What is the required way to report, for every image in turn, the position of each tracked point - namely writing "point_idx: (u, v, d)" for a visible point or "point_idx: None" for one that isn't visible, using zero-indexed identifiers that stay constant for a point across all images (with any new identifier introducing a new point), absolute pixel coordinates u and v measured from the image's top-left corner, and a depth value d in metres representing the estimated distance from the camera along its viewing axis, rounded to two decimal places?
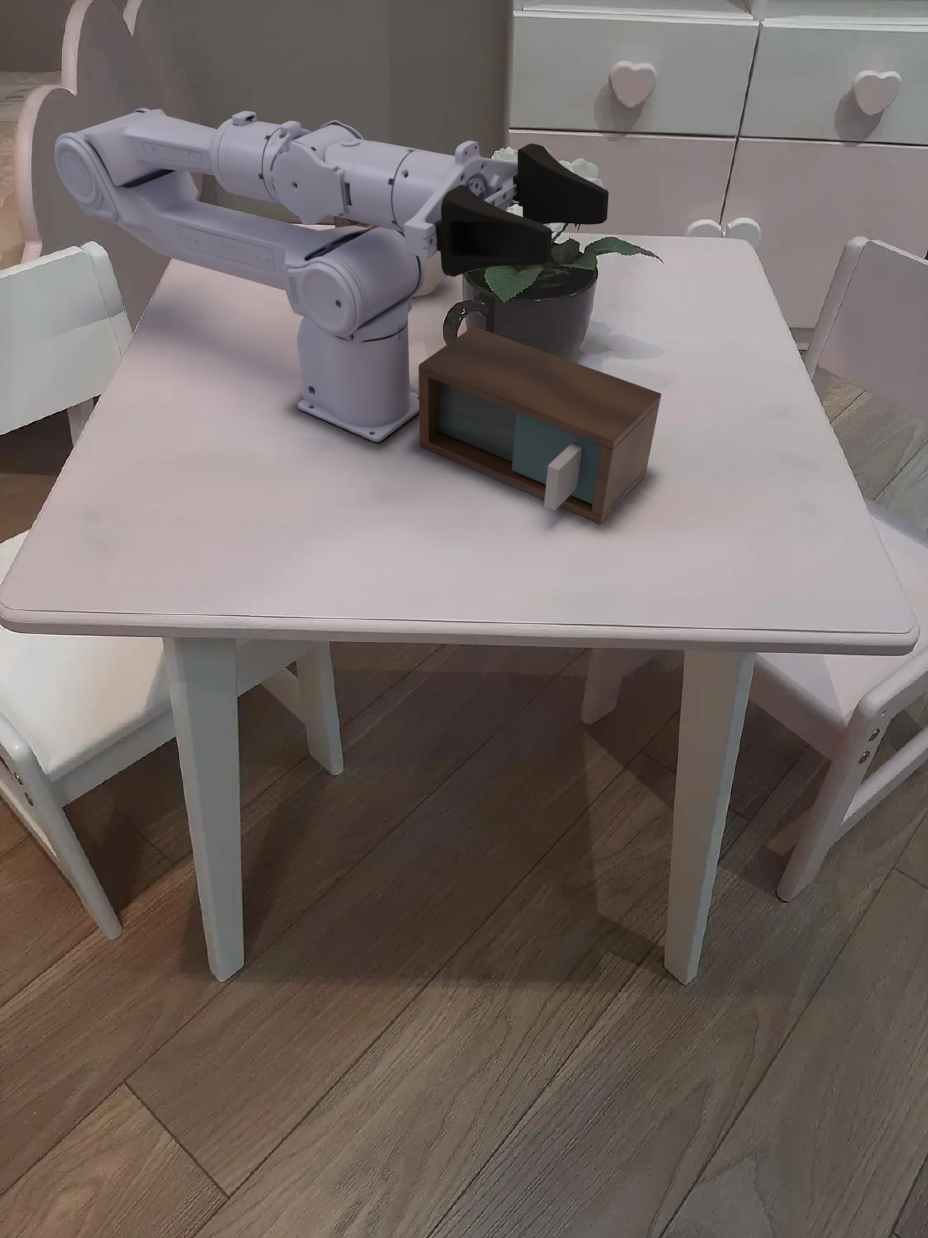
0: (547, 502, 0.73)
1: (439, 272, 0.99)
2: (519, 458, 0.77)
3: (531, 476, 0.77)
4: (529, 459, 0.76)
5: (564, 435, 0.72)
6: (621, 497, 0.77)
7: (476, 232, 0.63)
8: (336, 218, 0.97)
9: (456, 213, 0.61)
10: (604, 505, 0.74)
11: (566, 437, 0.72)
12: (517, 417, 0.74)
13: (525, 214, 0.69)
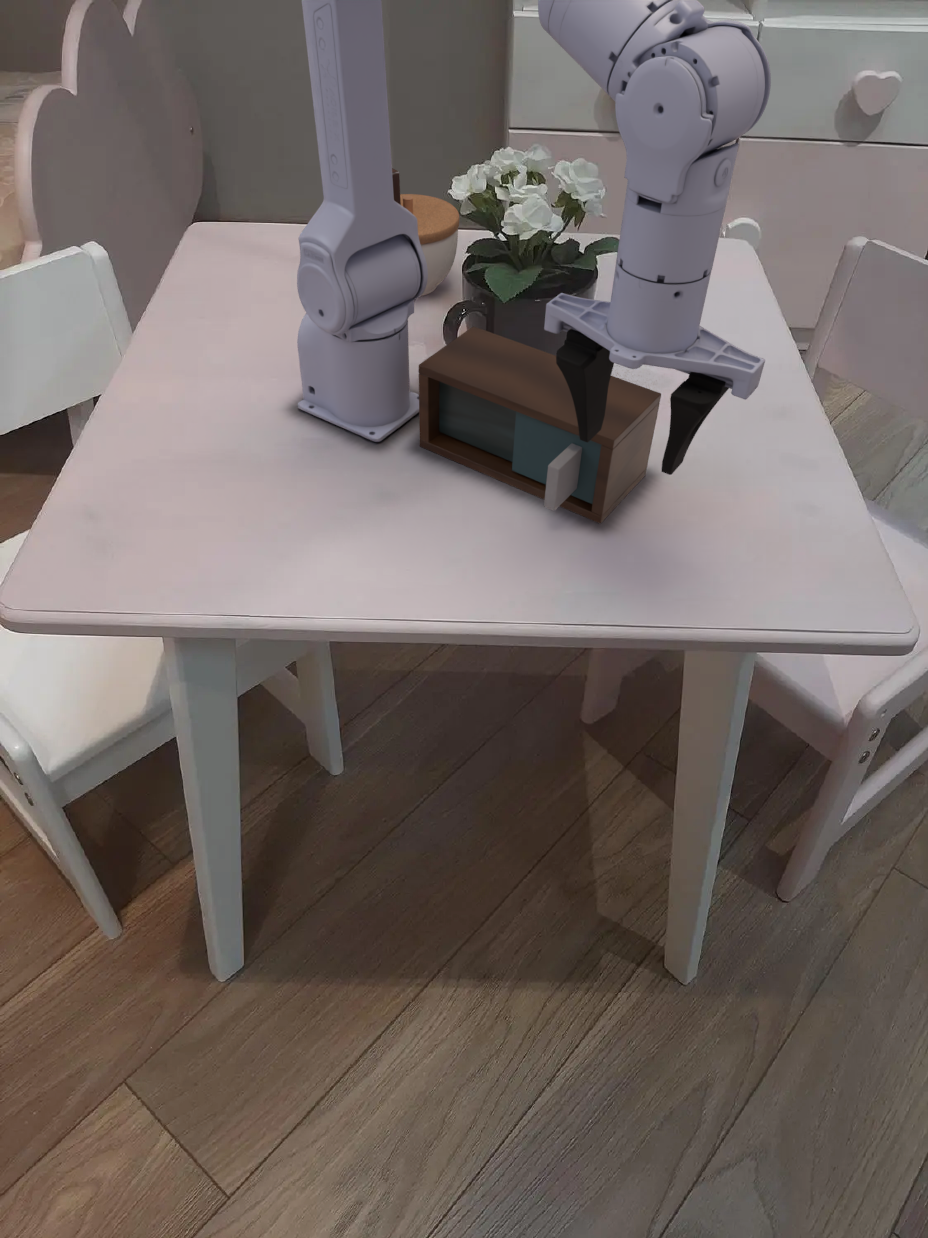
0: (547, 502, 0.73)
1: (439, 272, 0.99)
2: (519, 458, 0.77)
3: (531, 476, 0.77)
4: (529, 459, 0.76)
5: (564, 435, 0.72)
6: (621, 497, 0.77)
7: None
8: None
9: None
10: (604, 505, 0.74)
11: (566, 437, 0.72)
12: (517, 417, 0.74)
13: None
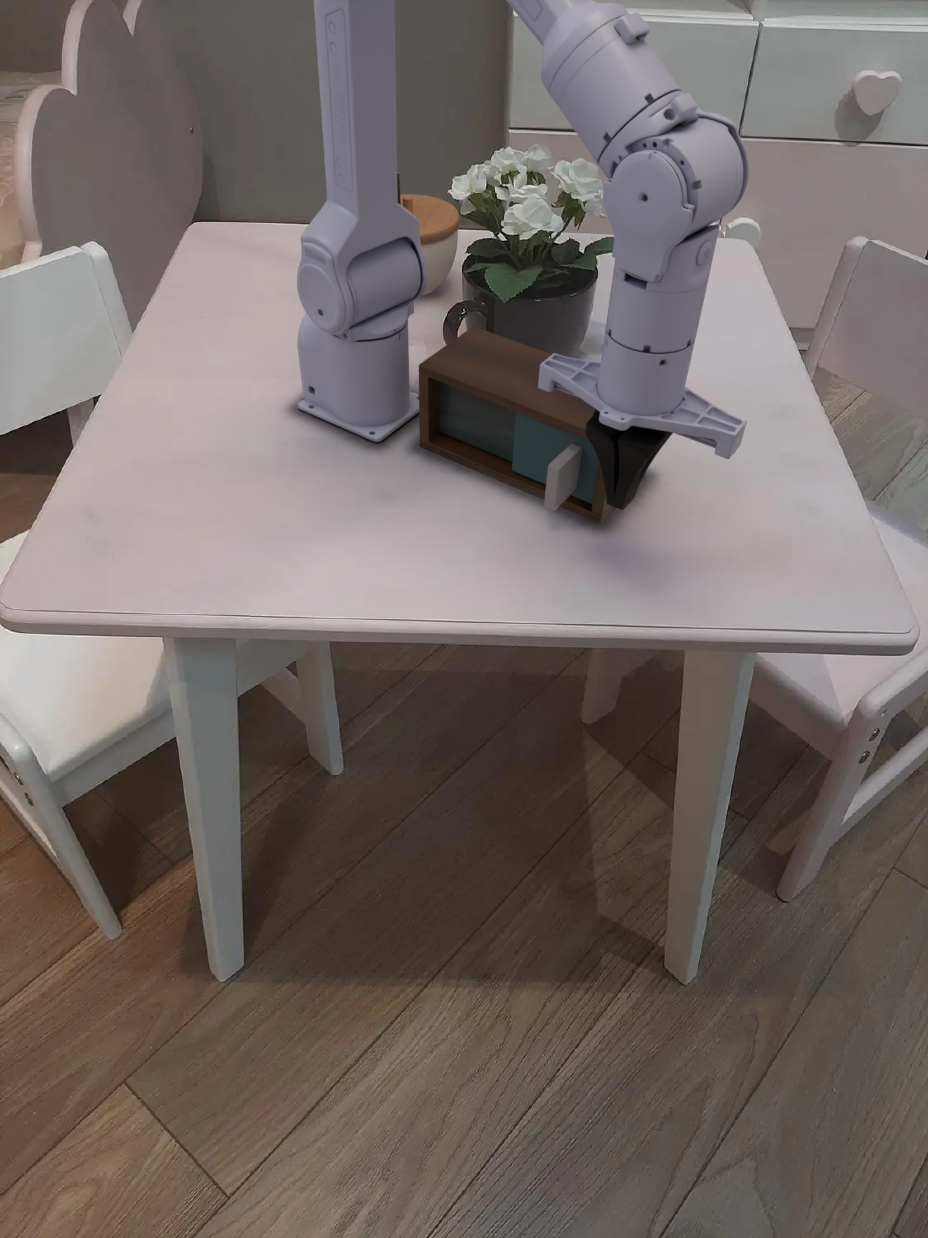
0: (547, 502, 0.73)
1: (439, 272, 0.99)
2: (519, 458, 0.77)
3: (531, 476, 0.77)
4: (529, 459, 0.76)
5: (564, 435, 0.72)
6: None
7: None
8: None
9: None
10: (604, 505, 0.74)
11: (566, 437, 0.72)
12: (517, 417, 0.74)
13: None
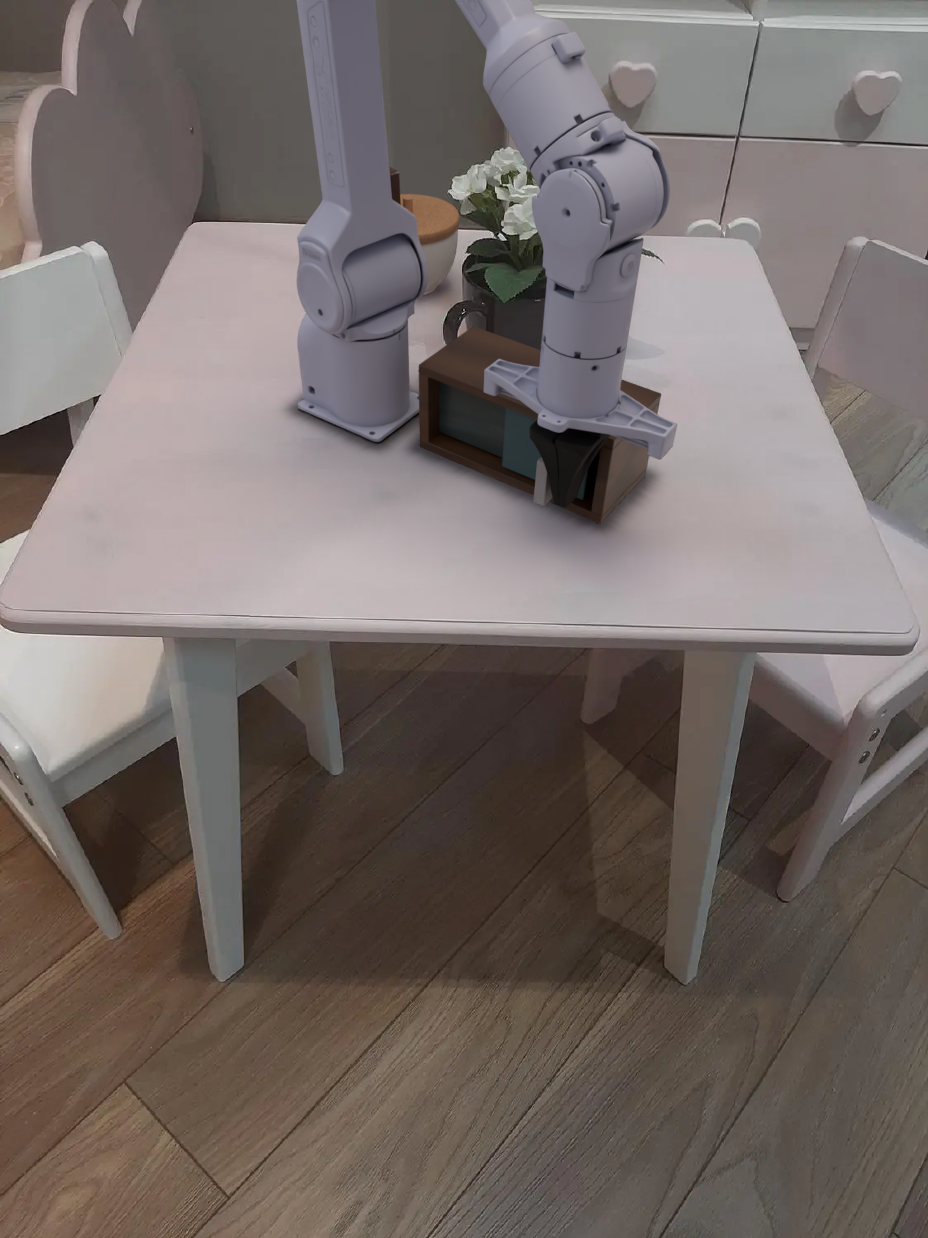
0: (536, 497, 0.73)
1: (439, 272, 0.98)
2: (509, 454, 0.77)
3: (521, 472, 0.77)
4: (519, 455, 0.76)
5: None
6: (621, 497, 0.77)
7: None
8: None
9: None
10: (604, 505, 0.74)
11: None
12: (506, 413, 0.74)
13: None
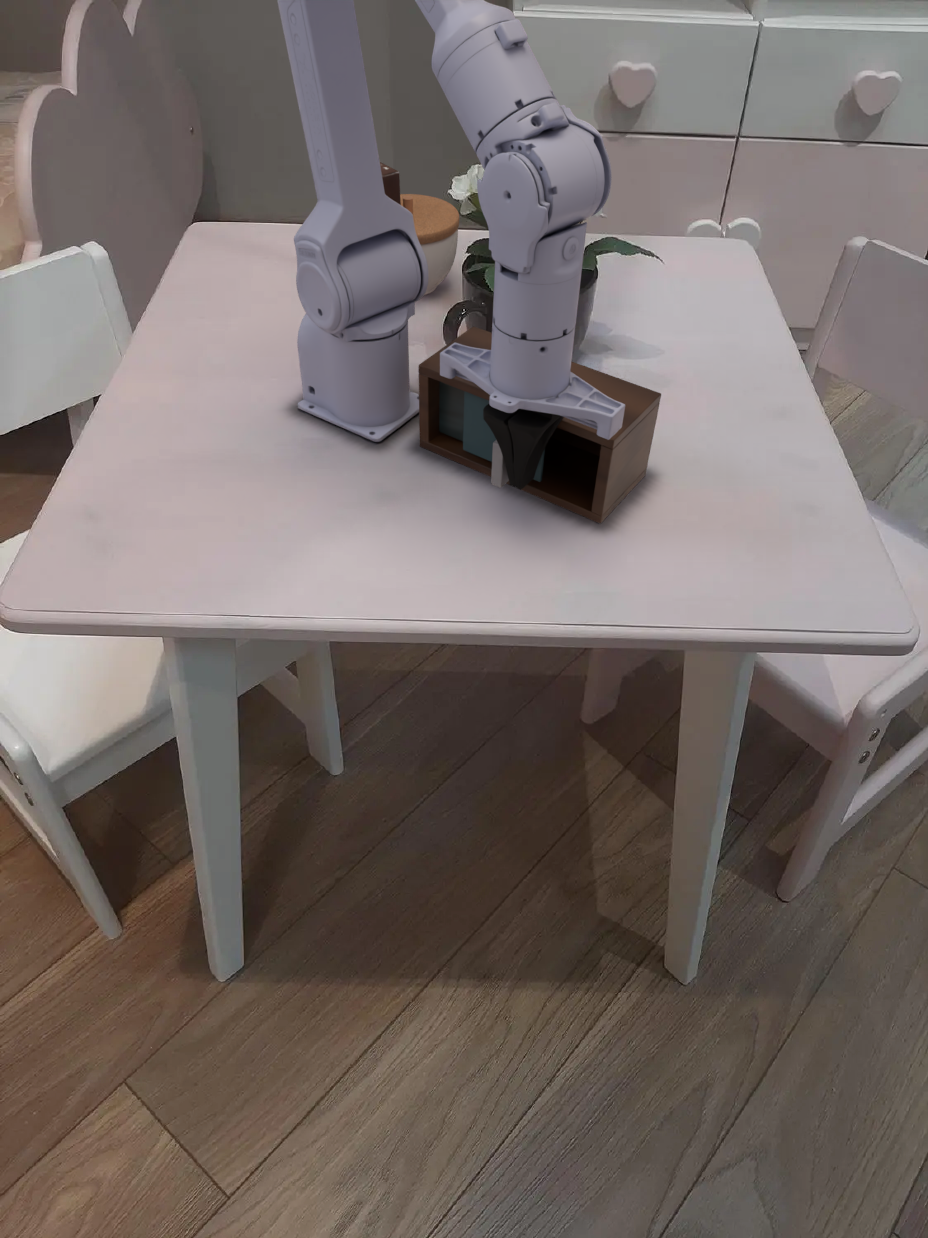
0: (493, 479, 0.74)
1: (439, 272, 0.98)
2: (469, 437, 0.78)
3: (481, 455, 0.79)
4: (478, 438, 0.78)
5: None
6: (621, 497, 0.77)
7: None
8: None
9: None
10: (604, 505, 0.74)
11: None
12: (465, 397, 0.76)
13: None
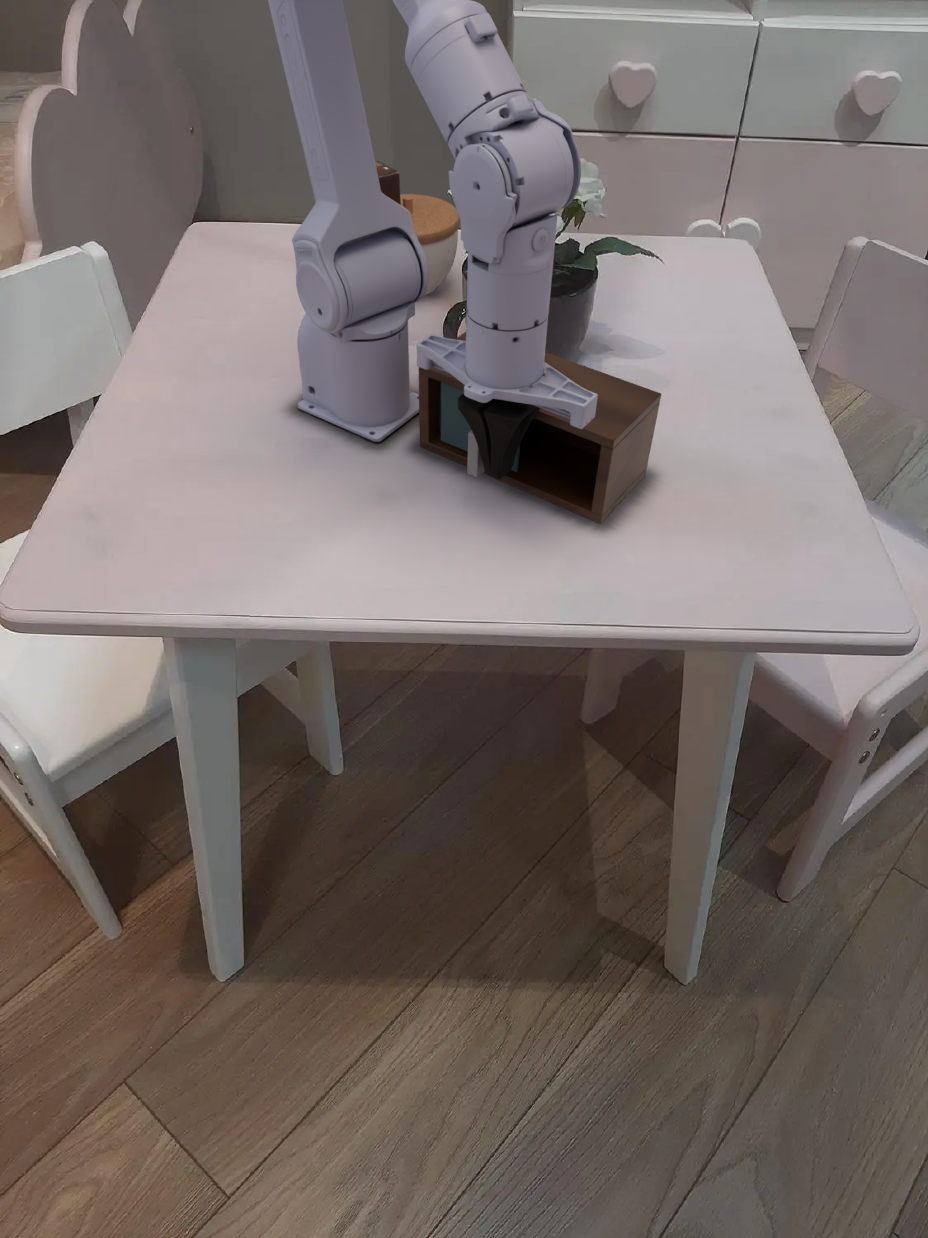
0: (469, 469, 0.75)
1: (439, 272, 0.99)
2: (446, 428, 0.79)
3: (458, 446, 0.80)
4: (456, 429, 0.79)
5: None
6: (621, 497, 0.77)
7: None
8: None
9: None
10: (604, 505, 0.74)
11: None
12: (442, 388, 0.77)
13: None
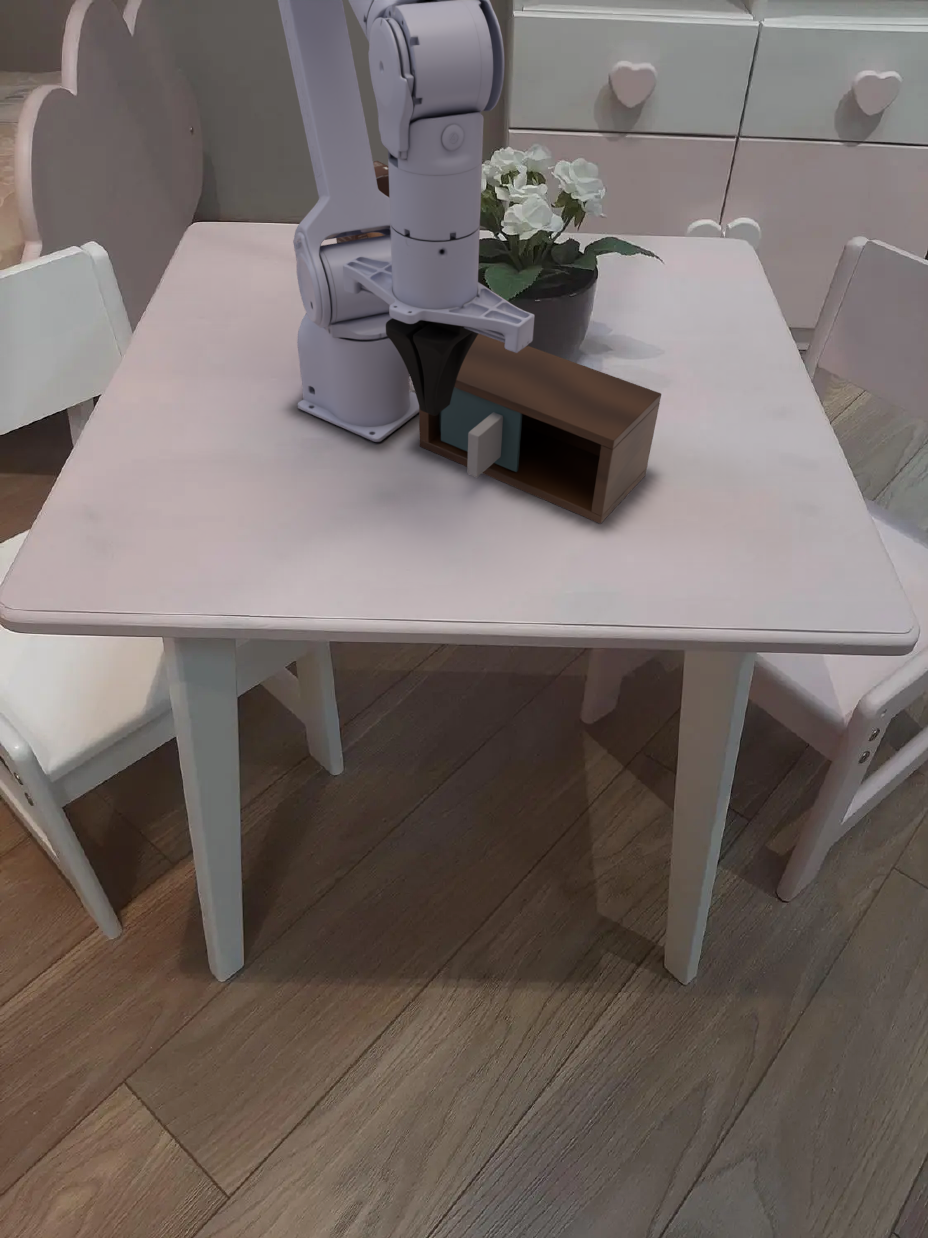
0: (469, 469, 0.75)
1: None
2: (446, 428, 0.79)
3: (458, 446, 0.80)
4: (456, 429, 0.79)
5: (486, 404, 0.75)
6: (621, 497, 0.77)
7: None
8: None
9: None
10: (604, 505, 0.74)
11: (488, 406, 0.75)
12: None
13: None
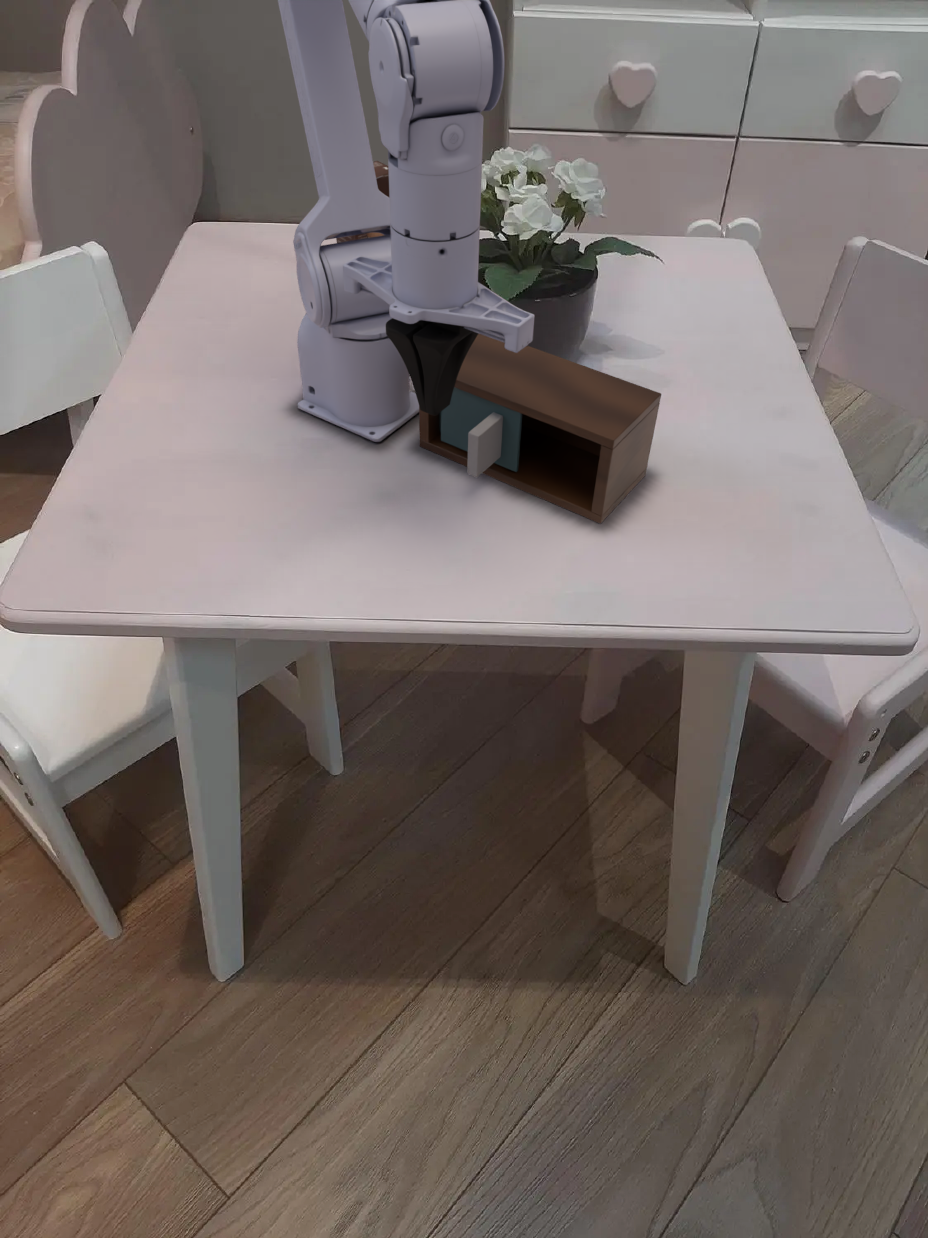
0: (469, 469, 0.75)
1: None
2: (446, 428, 0.79)
3: (458, 446, 0.80)
4: (456, 429, 0.79)
5: (486, 404, 0.75)
6: (621, 497, 0.77)
7: None
8: None
9: None
10: (604, 505, 0.74)
11: (488, 406, 0.75)
12: None
13: None
